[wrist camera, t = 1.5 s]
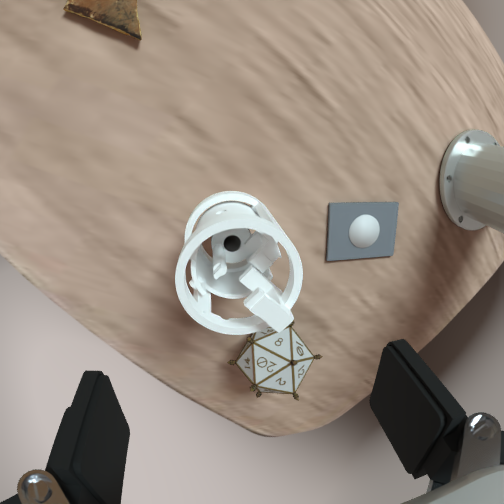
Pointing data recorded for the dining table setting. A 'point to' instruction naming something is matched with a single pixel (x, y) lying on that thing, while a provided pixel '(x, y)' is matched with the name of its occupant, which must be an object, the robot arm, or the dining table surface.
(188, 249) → the white cylindrical housing
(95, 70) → the dining table surface
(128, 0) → the shard
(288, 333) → the game die
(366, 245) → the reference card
